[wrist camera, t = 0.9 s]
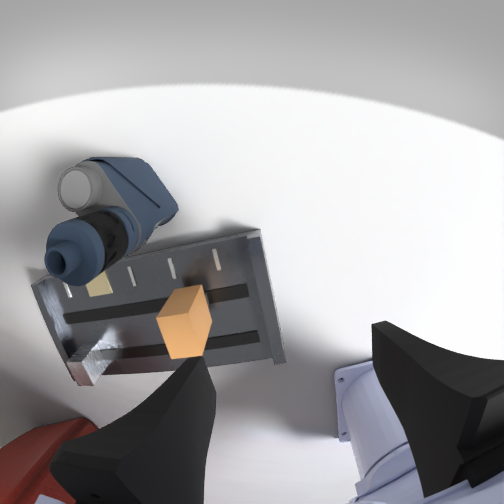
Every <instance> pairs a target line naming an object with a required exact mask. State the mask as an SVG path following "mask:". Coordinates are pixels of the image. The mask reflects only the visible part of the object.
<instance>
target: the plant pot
mask: <svg viewBox="0 0 504 504" xmlns="http://www.w3.org/2000/svg"><path fill="white" fill-rule="evenodd" d="M96 430H98V429H97V428H96V427H95V426H94V425H93V424H92V423H91V422H90V421H89V420H87V419H84V418H77V419H73V420H68V421H64V422H60V423H55V424H51V425H46V426H42V427H37V428H34V429H32V430H30V431H28V432H26V433H24V434H23V435H21V436H19V437H18V438H16V439H15V440H13V441H11V442H10V443H8V444H7V445H5V446H4V447H2V448H1V449H0V504H35V502H36V500H37V499H38V497H39V495H45V496H48V497H50V498H53V499H56V500H59V501H62V502H64V503H65V504H75V502H76V500H75V499H74V498H73V497H72V496H71V495H69V494H68V493H67V492H66V490H65V489H64V488H63V487H62V486H61V485H60V484H59V483H58V482H57V481H56V480H55V479H54V477H53V476H52V474H51V472H50V470H49V464H50V462H51V461H52V459H53V457H54V456H55V454H56V452H57V451H58V449H59V447H60V446H61V444H62V442H65V441H69V440H72V439H75V438H78V437H81V436H84V435H87V434H89V433H91V432H94V431H96Z"/></svg>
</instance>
